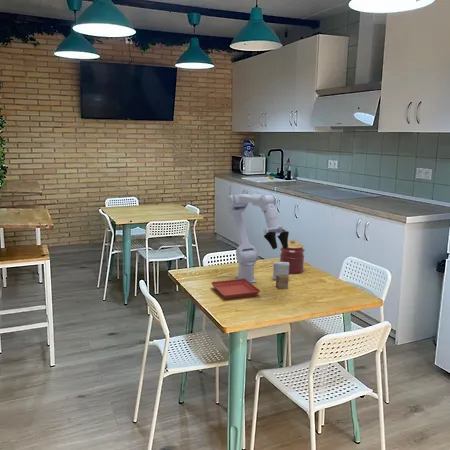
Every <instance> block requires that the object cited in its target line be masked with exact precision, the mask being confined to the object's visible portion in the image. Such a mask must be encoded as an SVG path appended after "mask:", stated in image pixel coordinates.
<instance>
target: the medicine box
mask: <svg viewBox="0 0 450 450" xmlns="http://www.w3.org/2000/svg"><path fill="white" fill-rule="evenodd" d="M272 269H273V272H272V273H273V274H272V275H273V276H272V280H273V281H276V275H278V274H286V275H287V276H288V281H290V280H289V279H290V273H289V262H280V261H273V268H272Z"/></svg>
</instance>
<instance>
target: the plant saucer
mask: <svg viewBox="0 0 450 450" xmlns="http://www.w3.org/2000/svg"><path fill="white" fill-rule="evenodd" d="M211 285H212V286H213V288H214V289H215V290H216V291H217V292H218V293H219V295H221V296H222V297H223V298H224V299H225V300H231V299H232V300H234V299H240V298H249V297H255V296H257V295H258V294H259V293H260V292H261V290H260V289H259V288H258V287H257V286H255V285H254V284H253V283H250V282H249V281H247V280H246V279H237V278H236V279H229V280H228V279H227V280H219V281H218V280H217V281H212V282H211Z"/></svg>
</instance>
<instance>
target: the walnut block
mask: <svg viewBox="0 0 450 450" xmlns="http://www.w3.org/2000/svg"><path fill="white" fill-rule="evenodd" d="M275 287H276V288H277V289H278V290H287V289H289V280H288V276H287V275H286V274H278V275H276V280H275Z"/></svg>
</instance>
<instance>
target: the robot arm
mask: <svg viewBox="0 0 450 450" xmlns="http://www.w3.org/2000/svg"><path fill="white" fill-rule="evenodd" d="M276 202H277V200H276V197H275V196H274V195H272V194H269V195H267V194H265V193H262V194H260V192H256V193H253V194H252V195H251V194H248V193H244V194H243V193H242V194H240V193H239V194H233V195H231V194H230V195H228V197H227V199H226V206H227V209H228V210H227V211H228V213H229V214H230V216H231V220H232V224H233V228H234V232H235V235H236V239H237V243H238V247H237V248H236V250H235V256H236V261H237V263H238V266H237V267H238V269H237V276H236V277H235V278H236V279H246V280H247V281H249V282H250V283H251V284H253V283H257V281H256V279H255V264H256V263H257V262H258V259H259V254H258V251H257V249H256V247H255V246H254V245H253V244H251V243H250V240H249V237H248V234H247V230H246V226H245V223H244V220H243V216H242V214H243V213H244V212H245V210H246V209H247V208H248V205H249V203H251V205H252V206H255V207H258V208H260V209H261V212H262V213H263V215H264V219H265V223H266V226H267V227H266V228H264V229H263V230H262V231H263V234H264V235H263V237H264V239H265V240H266V241H267V242H268V243H269V245H270V246H271V248H272V250H277V249H278V243H277V239H276V238H278V239H279V241H280V244H281V248H282V247H283V248H284V249H286V248H288V241H289V234H290V232H289V231H288V230H287V228H285V227H284V226H283V225H281V223H280V220H279V217H278V212H277V209H276V204H277V203H276ZM277 234H278V235H277ZM276 235H277V236H276Z"/></svg>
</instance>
